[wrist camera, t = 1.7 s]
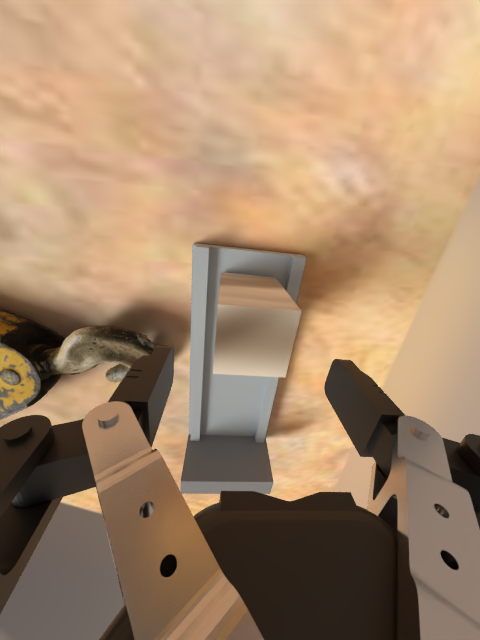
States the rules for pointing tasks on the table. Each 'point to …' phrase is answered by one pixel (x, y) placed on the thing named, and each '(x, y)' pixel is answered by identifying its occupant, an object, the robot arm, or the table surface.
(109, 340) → the pulley block
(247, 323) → the block
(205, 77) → the table surface
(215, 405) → the rail
